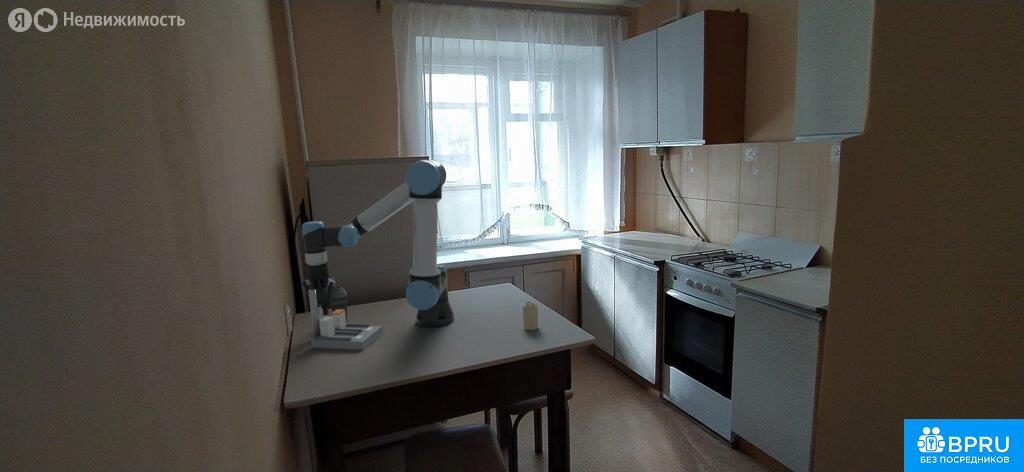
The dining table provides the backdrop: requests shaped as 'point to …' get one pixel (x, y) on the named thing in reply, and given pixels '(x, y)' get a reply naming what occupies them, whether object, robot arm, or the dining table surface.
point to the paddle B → (327, 326)
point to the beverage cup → (339, 300)
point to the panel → (349, 337)
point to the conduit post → (314, 313)
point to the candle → (530, 316)
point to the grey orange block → (339, 318)
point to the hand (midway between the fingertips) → (324, 323)
